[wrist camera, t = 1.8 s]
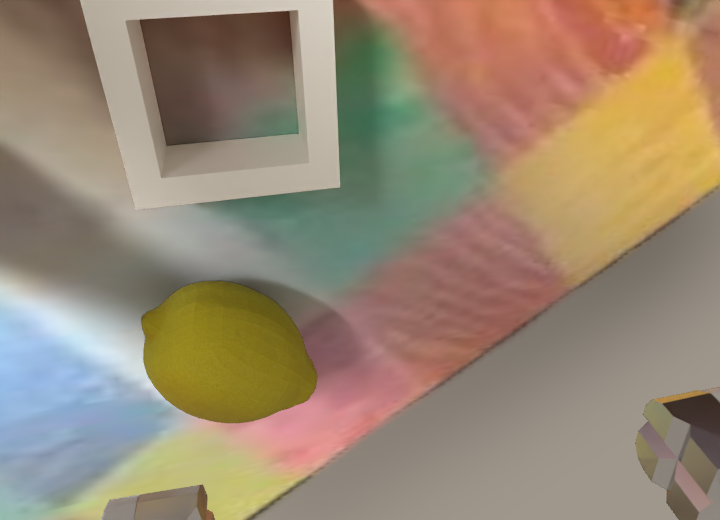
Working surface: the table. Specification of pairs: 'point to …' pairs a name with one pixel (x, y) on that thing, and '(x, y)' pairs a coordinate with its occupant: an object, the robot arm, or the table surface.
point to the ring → (229, 157)
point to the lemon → (226, 353)
